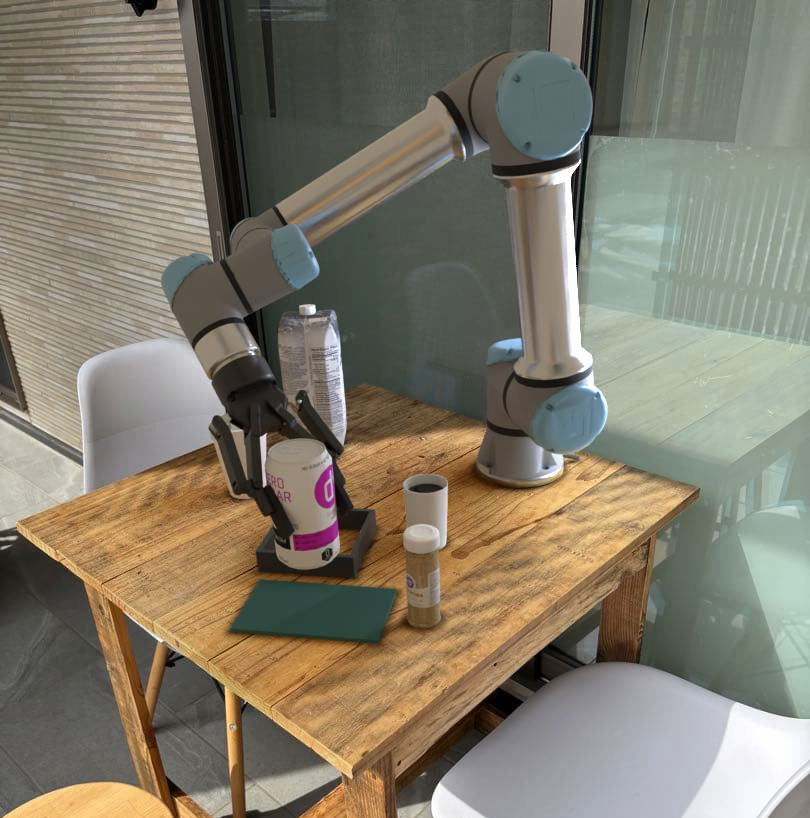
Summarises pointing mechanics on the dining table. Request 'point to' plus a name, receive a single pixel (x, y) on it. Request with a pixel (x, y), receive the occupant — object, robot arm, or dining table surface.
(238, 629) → the mat
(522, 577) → the dining table surface
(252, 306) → the robot arm
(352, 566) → the square frame
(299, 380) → the juice carton
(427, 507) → the white coffee cup
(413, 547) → the sprinkles bottle
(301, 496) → the supplement can
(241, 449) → the foam cup
